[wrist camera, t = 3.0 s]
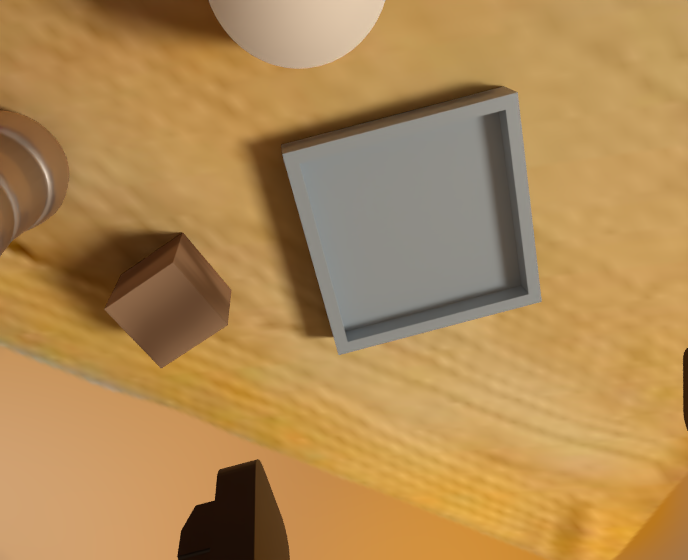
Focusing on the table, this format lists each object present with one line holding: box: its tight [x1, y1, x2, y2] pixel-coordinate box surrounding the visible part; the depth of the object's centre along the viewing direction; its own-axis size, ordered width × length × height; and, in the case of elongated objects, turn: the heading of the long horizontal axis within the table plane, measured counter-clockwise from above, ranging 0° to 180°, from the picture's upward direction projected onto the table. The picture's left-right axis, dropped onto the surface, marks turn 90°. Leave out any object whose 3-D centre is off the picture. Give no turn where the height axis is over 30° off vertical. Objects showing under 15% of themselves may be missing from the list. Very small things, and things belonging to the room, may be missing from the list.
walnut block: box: [104, 233, 231, 368], centre depth 40 cm, size 5×5×5 cm
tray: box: [281, 86, 542, 355], centre depth 41 cm, size 14×14×2 cm
